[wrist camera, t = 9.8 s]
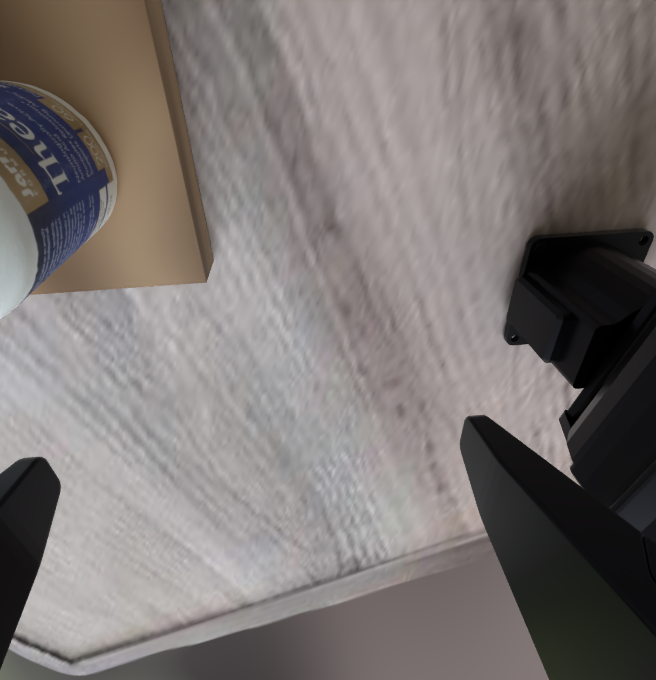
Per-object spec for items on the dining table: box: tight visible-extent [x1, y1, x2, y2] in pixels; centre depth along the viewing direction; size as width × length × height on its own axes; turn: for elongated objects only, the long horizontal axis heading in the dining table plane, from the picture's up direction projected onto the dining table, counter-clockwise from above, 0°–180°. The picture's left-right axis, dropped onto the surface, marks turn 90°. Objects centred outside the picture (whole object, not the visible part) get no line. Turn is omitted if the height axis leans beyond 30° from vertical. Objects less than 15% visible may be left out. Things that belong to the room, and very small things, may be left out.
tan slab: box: [0, 0, 214, 295], centre depth 16 cm, size 10×10×2 cm
